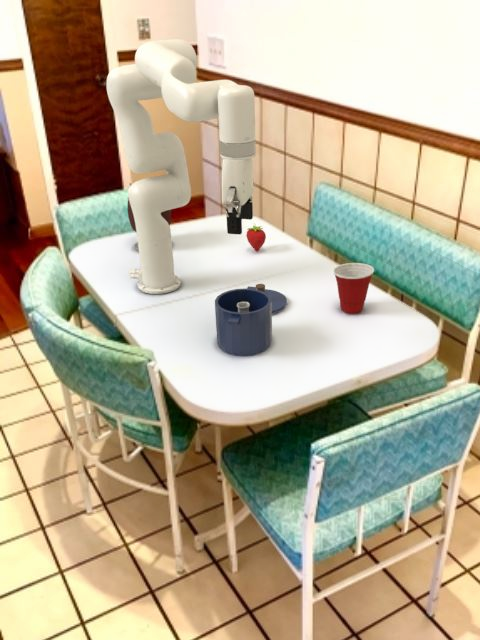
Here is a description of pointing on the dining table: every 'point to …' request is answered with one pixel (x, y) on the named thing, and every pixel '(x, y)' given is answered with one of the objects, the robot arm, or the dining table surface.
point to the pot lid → (274, 298)
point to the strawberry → (256, 237)
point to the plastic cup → (353, 285)
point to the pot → (244, 322)
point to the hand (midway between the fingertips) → (240, 226)
